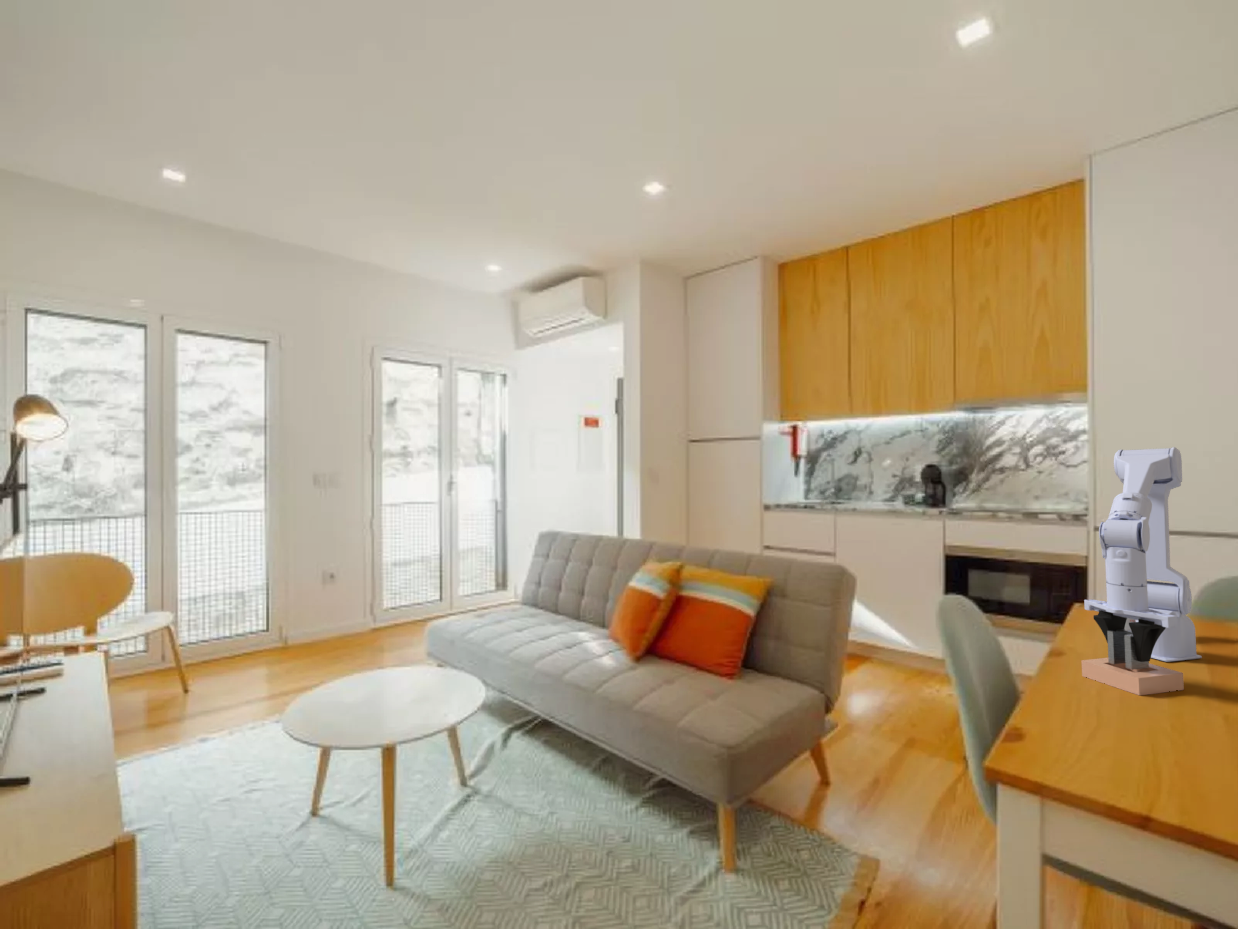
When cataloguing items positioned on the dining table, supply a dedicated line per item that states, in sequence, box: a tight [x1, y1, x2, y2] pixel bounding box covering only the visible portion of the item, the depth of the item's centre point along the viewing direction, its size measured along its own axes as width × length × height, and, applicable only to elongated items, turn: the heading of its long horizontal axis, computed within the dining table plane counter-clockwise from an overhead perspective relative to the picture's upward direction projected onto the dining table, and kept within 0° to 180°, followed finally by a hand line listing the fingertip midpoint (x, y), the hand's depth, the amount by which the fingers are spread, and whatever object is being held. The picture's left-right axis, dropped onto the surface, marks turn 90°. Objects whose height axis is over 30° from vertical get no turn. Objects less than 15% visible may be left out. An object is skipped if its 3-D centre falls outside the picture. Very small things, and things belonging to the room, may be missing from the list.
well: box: [1081, 657, 1185, 696], centre depth 104 cm, size 10×10×3 cm
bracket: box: [1107, 629, 1150, 670], centre depth 105 cm, size 4×4×6 cm
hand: (1129, 657), depth 105 cm, fingers closed on bracket, 4 cm apart
